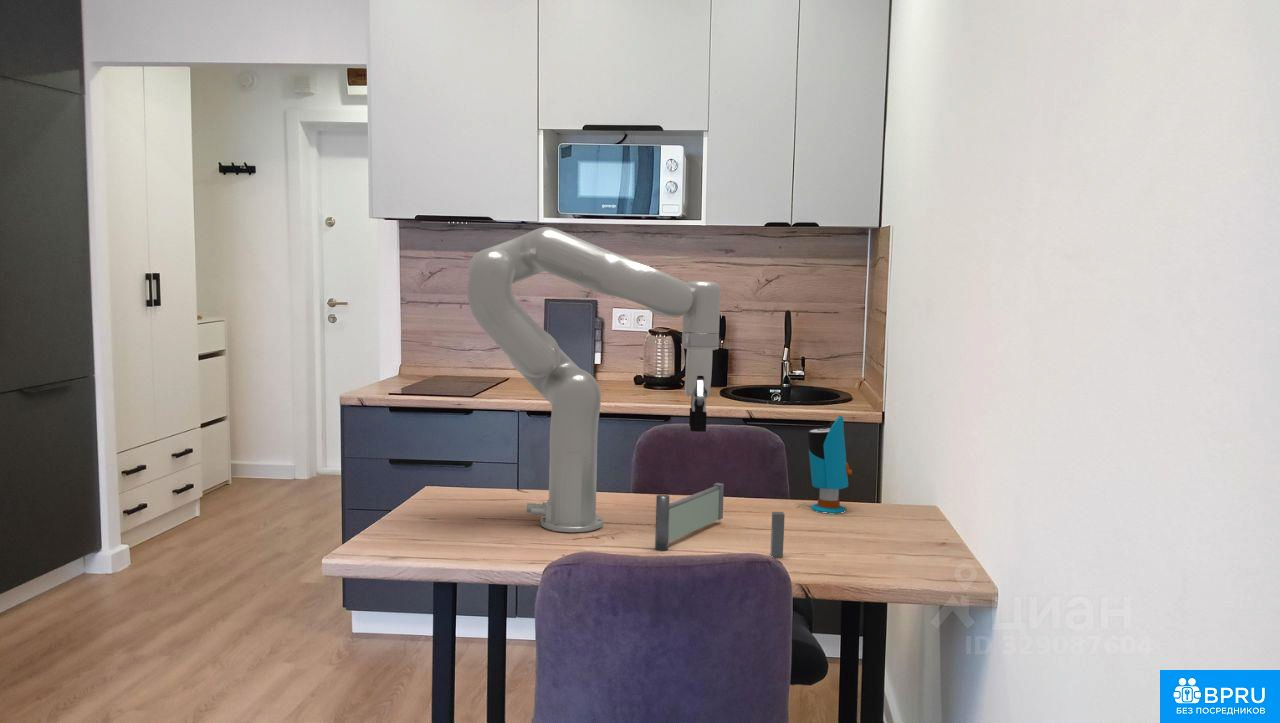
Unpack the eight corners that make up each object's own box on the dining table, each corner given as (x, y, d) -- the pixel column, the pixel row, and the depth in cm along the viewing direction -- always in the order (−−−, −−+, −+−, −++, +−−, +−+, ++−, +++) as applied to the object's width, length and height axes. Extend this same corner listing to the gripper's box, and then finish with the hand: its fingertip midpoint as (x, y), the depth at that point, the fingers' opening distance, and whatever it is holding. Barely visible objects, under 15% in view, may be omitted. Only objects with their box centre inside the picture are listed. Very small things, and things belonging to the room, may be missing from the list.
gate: (669, 542, 172) (670, 504, 171) (661, 541, 173) (662, 503, 172) (722, 518, 191) (723, 483, 191) (715, 517, 192) (716, 482, 192)
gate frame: (654, 550, 170) (655, 497, 169) (655, 546, 173) (657, 494, 172) (782, 558, 167) (785, 504, 167) (782, 554, 170) (784, 501, 169)
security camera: (808, 411, 209) (854, 413, 207) (804, 503, 211) (849, 507, 209) (807, 416, 201) (855, 418, 199) (803, 512, 202) (850, 516, 200)
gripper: (681, 338, 198) (678, 422, 200) (683, 343, 182) (680, 435, 183) (716, 339, 198) (713, 423, 200) (721, 344, 181) (718, 436, 183)
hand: (697, 428), depth 191 cm, fingers open, 4 cm apart
